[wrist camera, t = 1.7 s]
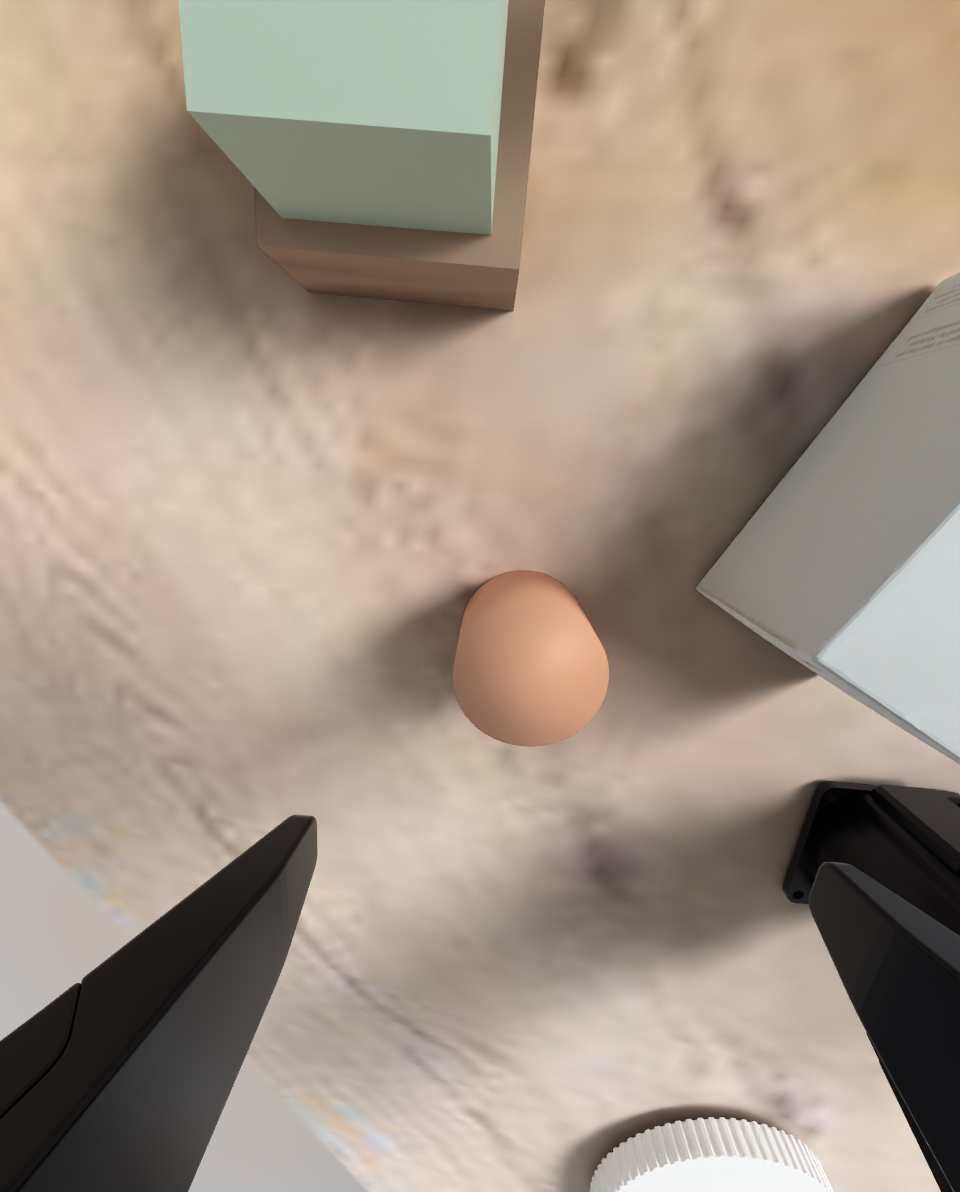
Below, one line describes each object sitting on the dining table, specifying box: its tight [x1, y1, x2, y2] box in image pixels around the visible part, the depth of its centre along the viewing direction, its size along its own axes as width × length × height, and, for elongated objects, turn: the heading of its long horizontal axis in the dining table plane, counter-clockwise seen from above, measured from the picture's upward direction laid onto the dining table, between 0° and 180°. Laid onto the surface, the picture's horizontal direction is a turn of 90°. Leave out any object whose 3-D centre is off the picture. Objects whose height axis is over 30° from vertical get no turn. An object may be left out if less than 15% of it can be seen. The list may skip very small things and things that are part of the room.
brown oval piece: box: [453, 570, 609, 746], centre depth 17 cm, size 5×5×4 cm
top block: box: [178, 0, 509, 235], centre depth 10 cm, size 6×6×4 cm
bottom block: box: [254, 0, 545, 311], centre depth 13 cm, size 7×7×4 cm
